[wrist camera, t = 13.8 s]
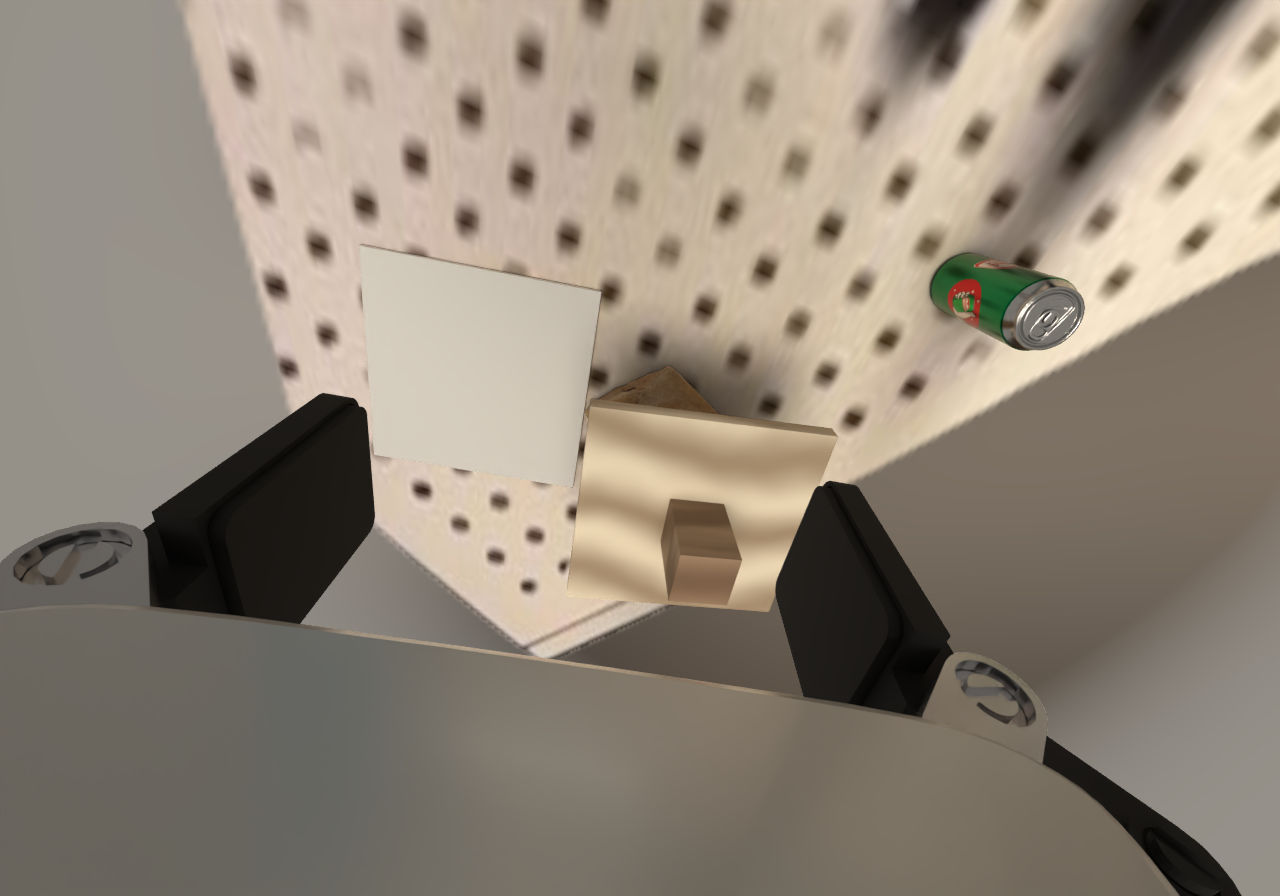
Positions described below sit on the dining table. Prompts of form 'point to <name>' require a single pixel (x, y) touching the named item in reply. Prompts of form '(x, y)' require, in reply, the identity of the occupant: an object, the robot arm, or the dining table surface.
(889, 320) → the dining table surface
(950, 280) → the soda can
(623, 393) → the brown boot-shaped piece
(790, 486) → the birch lid
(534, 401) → the grey mat
